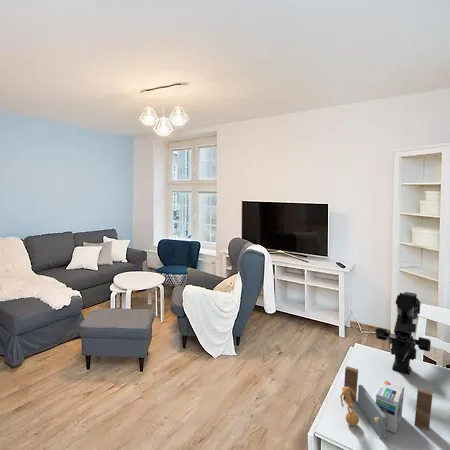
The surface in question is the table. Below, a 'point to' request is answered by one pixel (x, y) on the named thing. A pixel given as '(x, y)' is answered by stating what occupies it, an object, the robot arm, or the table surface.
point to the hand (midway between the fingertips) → (399, 360)
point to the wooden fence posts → (421, 407)
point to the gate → (372, 411)
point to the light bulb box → (390, 403)
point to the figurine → (349, 406)
